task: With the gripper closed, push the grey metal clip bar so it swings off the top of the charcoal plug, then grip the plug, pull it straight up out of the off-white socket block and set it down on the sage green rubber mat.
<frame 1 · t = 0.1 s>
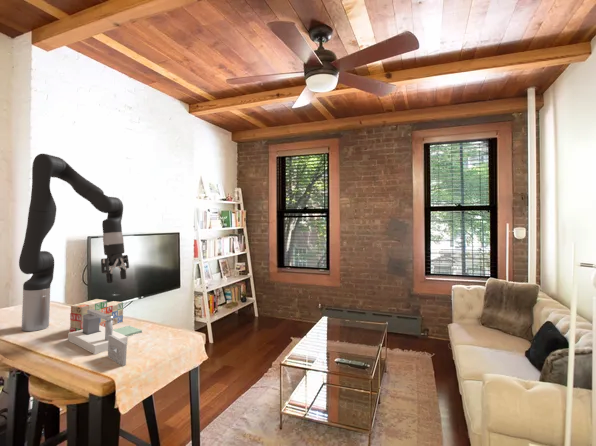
hand: (117, 281, 137), 22 cm above the table, tool pointing down, fingers open, 8 cm apart
stack of blocks: (97, 328, 143), on the table
mat: (124, 332, 138), on the table
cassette: (116, 361, 112), on the table
socket block: (97, 342, 126), on the table
plug: (90, 339, 129), resting in socket block
clip: (100, 314, 126), point 11 cm above the table, hinge at 0.0°
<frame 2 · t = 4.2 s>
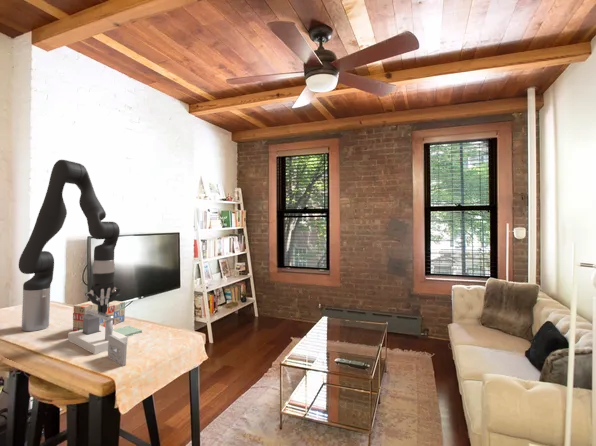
hand: (102, 313, 129), 11 cm above the table, tool pointing down, fingers closed
clip: (99, 314, 126), point 11 cm above the table, hinge at 1.5°, touching gripper
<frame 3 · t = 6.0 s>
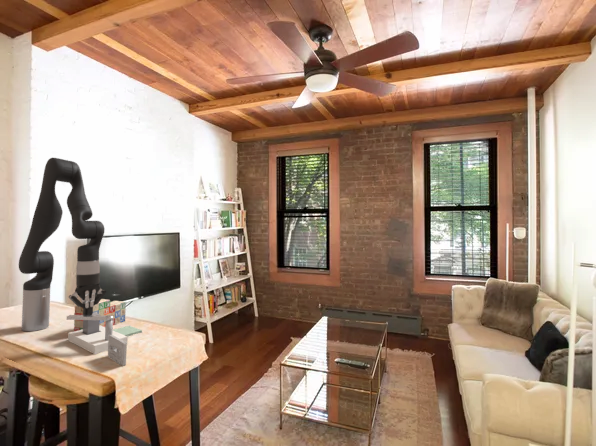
hand: (87, 316, 124), 11 cm above the table, tool pointing down, fingers closed
clip: (90, 317, 122), point 11 cm above the table, hinge at 36.3°, touching gripper
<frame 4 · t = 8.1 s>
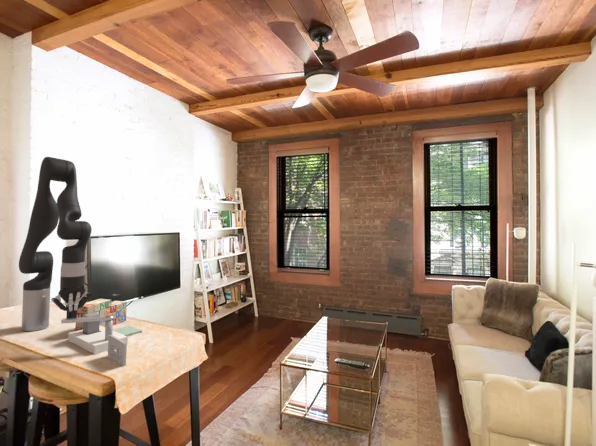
hand: (71, 320, 120), 11 cm above the table, tool pointing down, fingers closed
clip: (88, 319, 120), point 11 cm above the table, hinge at 54.1°, touching gripper
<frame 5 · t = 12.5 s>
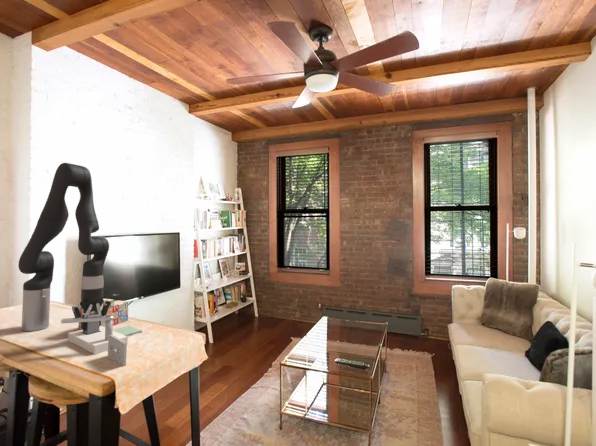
hand: (91, 328, 129), 4 cm above the table, tool pointing down, fingers closed on plug, 4 cm apart
plug: (90, 339, 129), resting in socket block, touching gripper
clip: (88, 319, 120), point 11 cm above the table, hinge at 54.4°
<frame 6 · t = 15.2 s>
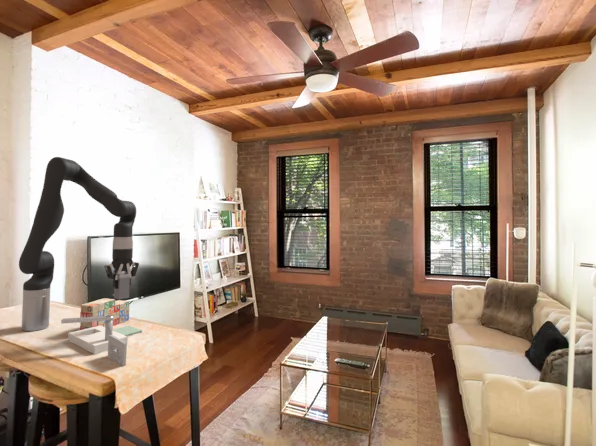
hand: (121, 287, 136), 20 cm above the table, tool pointing down, fingers closed on plug, 4 cm apart
plug: (121, 297, 136), point 16 cm above the table, touching gripper
when the fingers open (7 cm above the table, at t = 18.2 s): plug drops 1 cm, resting on mat.
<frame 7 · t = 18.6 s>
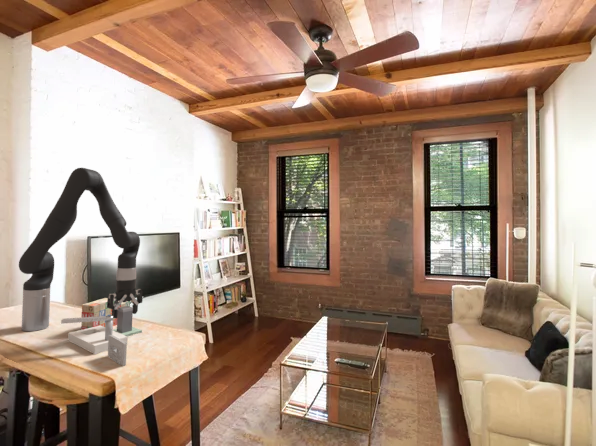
hand: (124, 315, 138), 7 cm above the table, tool pointing down, fingers open, 8 cm apart
plug: (124, 330, 138), point 1 cm above the table, touching mat
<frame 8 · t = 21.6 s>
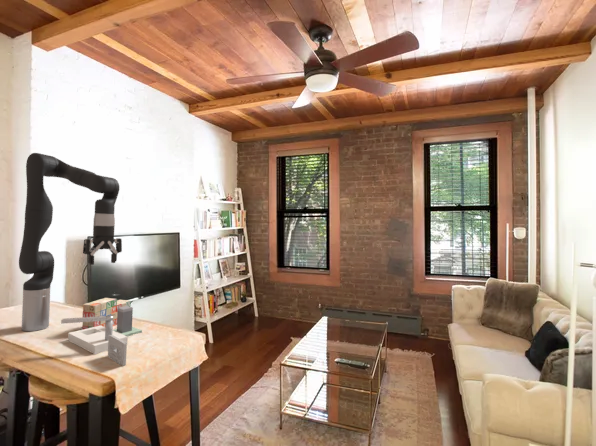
hand: (102, 263, 133), 30 cm above the table, tool pointing down, fingers open, 8 cm apart
at the end: clip at +54° (first picture: +0°); plug inside the target area on the mat (0.1 cm from its centre), point 0.8 cm above the mat's base; plug tilted 0° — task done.
